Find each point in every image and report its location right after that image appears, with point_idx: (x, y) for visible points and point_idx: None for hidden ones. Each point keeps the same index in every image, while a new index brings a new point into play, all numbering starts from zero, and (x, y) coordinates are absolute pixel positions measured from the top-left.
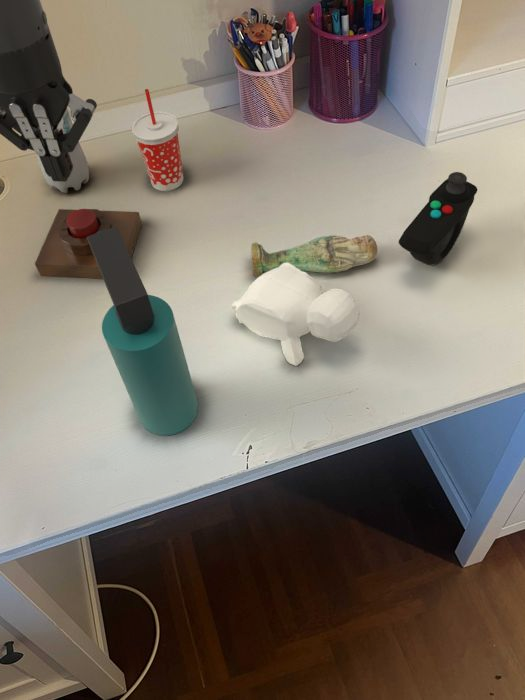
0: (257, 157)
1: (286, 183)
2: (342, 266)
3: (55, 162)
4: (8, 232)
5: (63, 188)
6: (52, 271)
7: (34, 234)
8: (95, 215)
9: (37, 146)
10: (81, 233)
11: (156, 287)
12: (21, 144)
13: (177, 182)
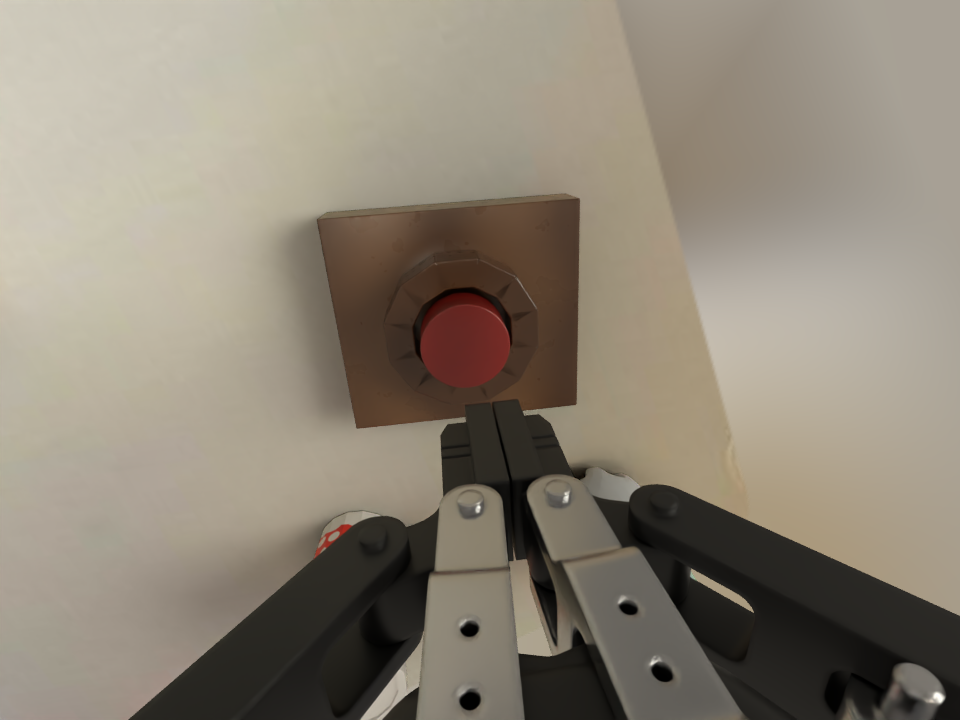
0: (179, 633)
1: (65, 578)
2: None
3: (484, 460)
4: (695, 330)
5: (592, 474)
6: (529, 198)
7: (627, 333)
8: (427, 368)
9: (569, 517)
10: (451, 299)
11: (220, 198)
12: (668, 512)
13: (321, 537)
